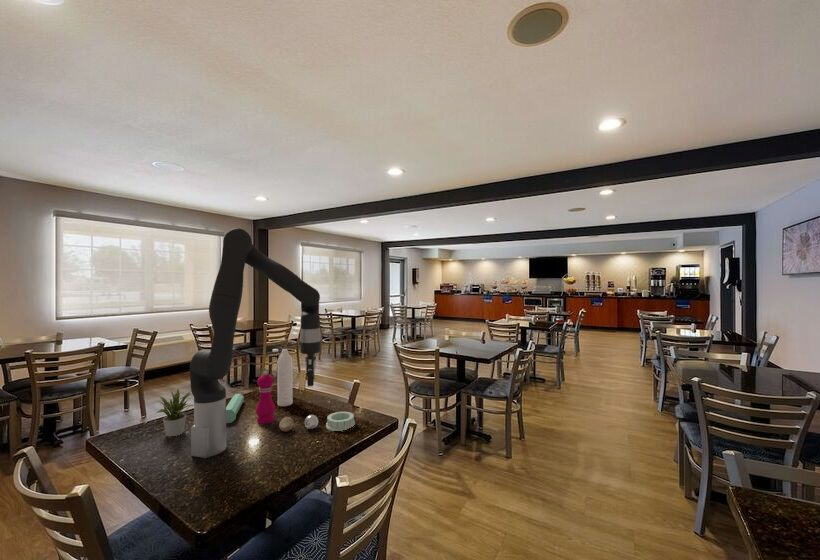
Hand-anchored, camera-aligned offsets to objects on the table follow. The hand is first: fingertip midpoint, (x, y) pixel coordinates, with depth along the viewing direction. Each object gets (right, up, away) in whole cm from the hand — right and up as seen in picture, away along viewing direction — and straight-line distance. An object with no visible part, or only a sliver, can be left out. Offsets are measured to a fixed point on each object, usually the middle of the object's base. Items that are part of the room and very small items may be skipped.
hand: (311, 382), depth 134 cm
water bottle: (-20, -18, +26) cm, 37 cm away
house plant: (-47, -18, -5) cm, 51 cm away
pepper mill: (-20, -18, +7) cm, 28 cm away
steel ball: (0, -17, 0) cm, 17 cm away
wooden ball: (-9, -17, -2) cm, 20 cm away
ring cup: (+11, -17, +2) cm, 21 cm away
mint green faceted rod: (-38, -18, +17) cm, 45 cm away
